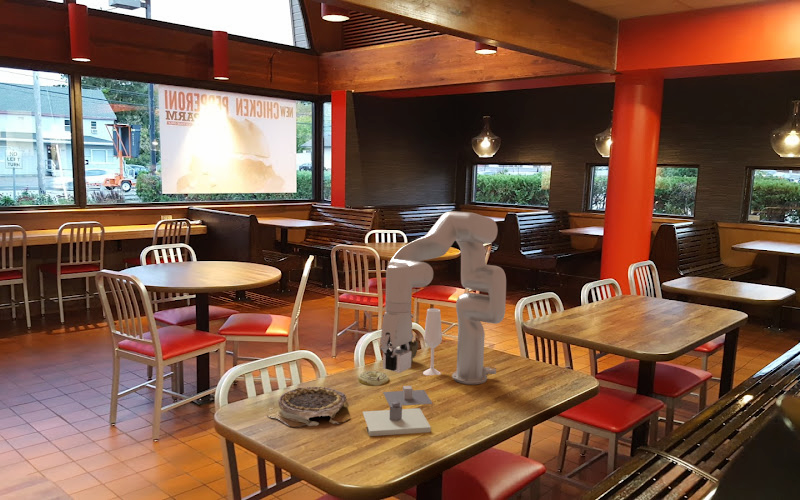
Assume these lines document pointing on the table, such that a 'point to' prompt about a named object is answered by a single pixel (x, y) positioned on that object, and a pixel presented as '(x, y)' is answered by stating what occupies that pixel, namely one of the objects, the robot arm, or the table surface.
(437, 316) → the champagne flute
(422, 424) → the hub plate
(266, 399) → the table surface
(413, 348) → the cup
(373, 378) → the decorated donut
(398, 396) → the rod stand
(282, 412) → the pie
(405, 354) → the collar
